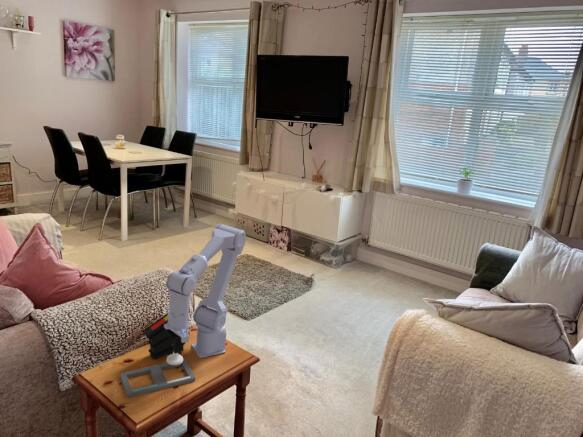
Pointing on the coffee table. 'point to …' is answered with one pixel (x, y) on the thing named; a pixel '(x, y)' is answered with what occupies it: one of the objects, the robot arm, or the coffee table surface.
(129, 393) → the port panel
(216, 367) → the coffee table surface
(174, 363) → the chess piece
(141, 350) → the coffee table surface
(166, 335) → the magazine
